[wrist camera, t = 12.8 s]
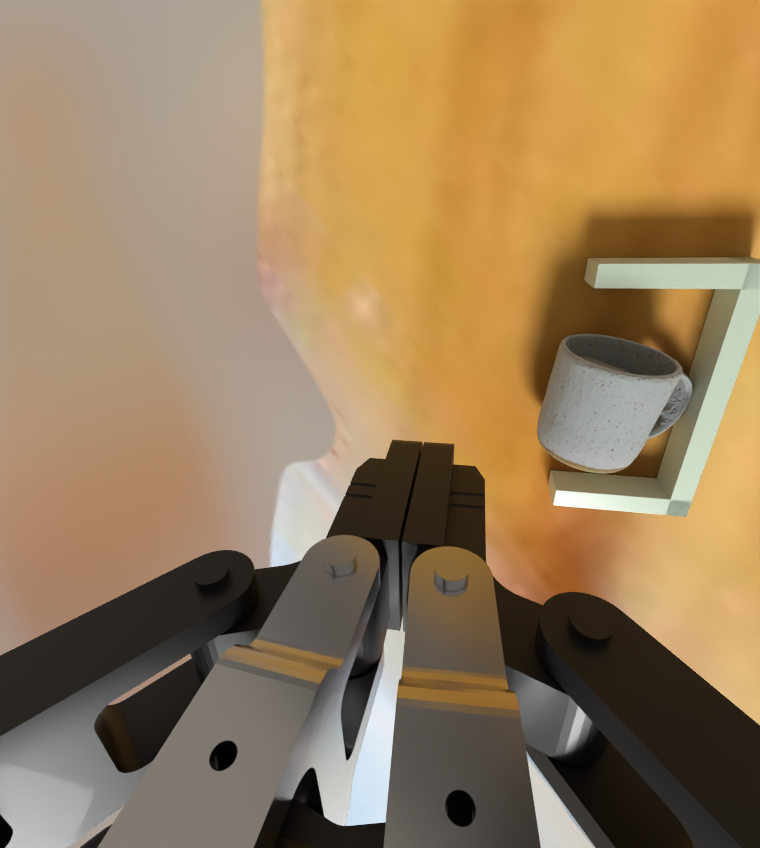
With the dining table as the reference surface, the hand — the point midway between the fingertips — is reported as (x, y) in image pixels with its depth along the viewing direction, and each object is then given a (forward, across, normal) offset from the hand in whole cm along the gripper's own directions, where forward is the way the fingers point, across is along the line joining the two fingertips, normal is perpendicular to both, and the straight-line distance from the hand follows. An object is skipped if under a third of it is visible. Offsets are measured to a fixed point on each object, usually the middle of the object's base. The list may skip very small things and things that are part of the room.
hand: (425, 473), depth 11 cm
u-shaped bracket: (+26, +13, -8) cm, 30 cm away
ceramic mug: (+26, +12, -8) cm, 29 cm away
